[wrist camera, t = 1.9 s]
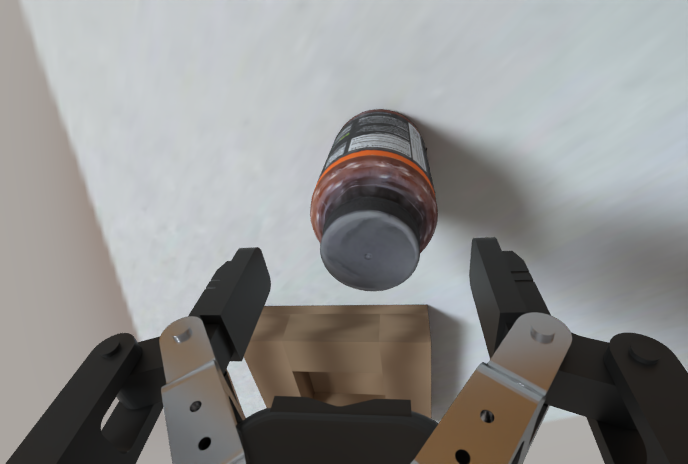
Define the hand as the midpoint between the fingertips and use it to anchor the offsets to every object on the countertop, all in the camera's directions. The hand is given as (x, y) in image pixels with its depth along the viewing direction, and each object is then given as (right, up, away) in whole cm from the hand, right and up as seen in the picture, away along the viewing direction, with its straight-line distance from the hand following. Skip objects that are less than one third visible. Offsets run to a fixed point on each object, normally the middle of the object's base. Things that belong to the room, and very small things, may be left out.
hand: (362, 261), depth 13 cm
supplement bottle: (+2, +7, +10) cm, 12 cm away
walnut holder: (0, -12, +23) cm, 26 cm away
